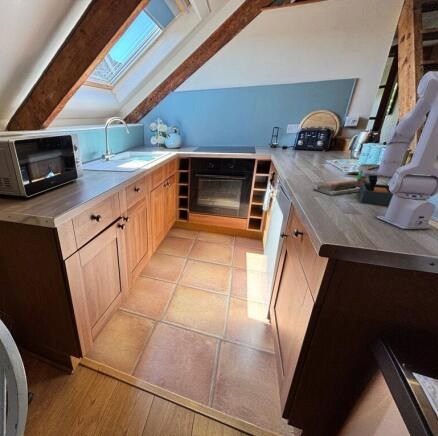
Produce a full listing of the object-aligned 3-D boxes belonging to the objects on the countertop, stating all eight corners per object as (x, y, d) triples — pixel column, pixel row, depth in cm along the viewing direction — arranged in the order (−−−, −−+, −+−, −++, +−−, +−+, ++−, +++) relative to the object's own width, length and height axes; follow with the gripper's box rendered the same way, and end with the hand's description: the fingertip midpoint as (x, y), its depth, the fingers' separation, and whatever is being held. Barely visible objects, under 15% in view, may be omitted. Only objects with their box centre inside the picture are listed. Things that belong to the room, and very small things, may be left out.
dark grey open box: (401, 207, 91) (406, 195, 89) (360, 202, 97) (365, 190, 95) (393, 197, 102) (397, 186, 100) (357, 193, 108) (361, 182, 106)
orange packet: (387, 203, 94) (390, 194, 92) (372, 201, 96) (375, 193, 95) (382, 196, 102) (385, 188, 101) (368, 194, 104) (371, 186, 103)
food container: (362, 182, 124) (368, 163, 120) (376, 185, 119) (383, 165, 115) (346, 185, 120) (353, 165, 116) (361, 188, 115) (368, 167, 111)
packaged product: (335, 185, 103) (314, 180, 112) (332, 196, 105) (311, 190, 114) (365, 181, 108) (343, 176, 117) (362, 191, 110) (340, 186, 119)
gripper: (415, 161, 92) (401, 195, 98) (365, 158, 100) (355, 190, 105) (420, 164, 87) (405, 200, 92) (367, 161, 95) (356, 194, 100)
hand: (379, 195), depth 98 cm, fingers closed on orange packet, 4 cm apart
